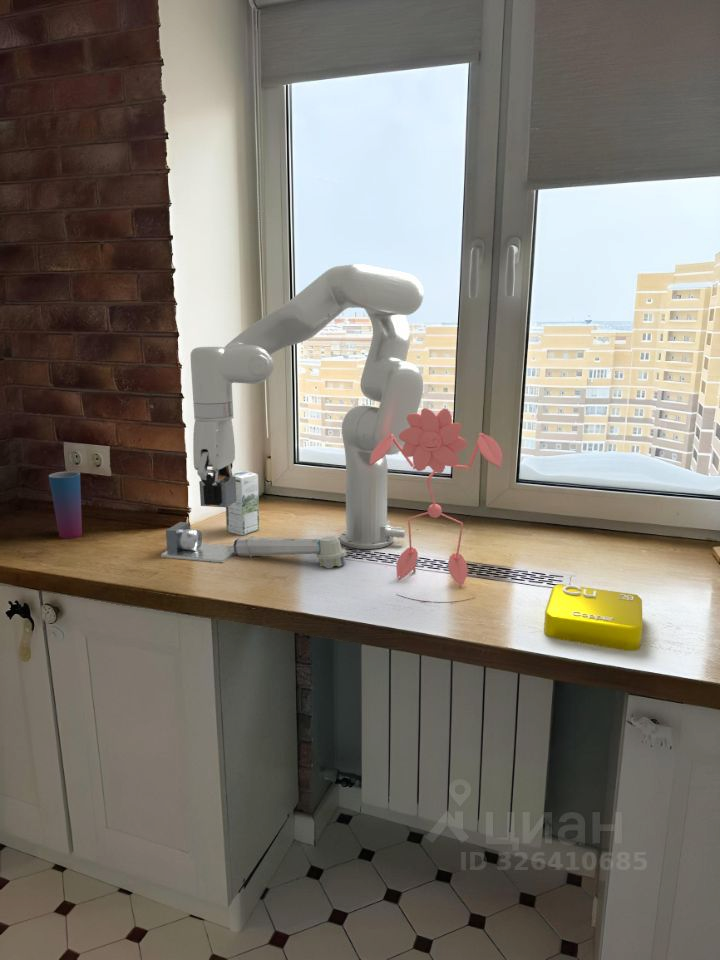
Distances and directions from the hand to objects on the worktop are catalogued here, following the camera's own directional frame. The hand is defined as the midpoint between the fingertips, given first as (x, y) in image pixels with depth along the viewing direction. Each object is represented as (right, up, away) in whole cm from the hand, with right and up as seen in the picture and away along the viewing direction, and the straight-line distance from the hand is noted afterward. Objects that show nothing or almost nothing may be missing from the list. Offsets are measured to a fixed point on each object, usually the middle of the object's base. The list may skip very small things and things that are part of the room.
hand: (218, 499), depth 136 cm
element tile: (+68, -21, -21) cm, 74 cm away
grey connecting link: (+13, -14, +10) cm, 22 cm away
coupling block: (0, -1, 0) cm, 1 cm away
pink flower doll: (+42, -17, -5) cm, 45 cm away
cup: (-41, -10, +26) cm, 50 cm away
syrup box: (0, -9, +29) cm, 31 cm away
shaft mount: (-7, -12, +14) cm, 20 cm away
